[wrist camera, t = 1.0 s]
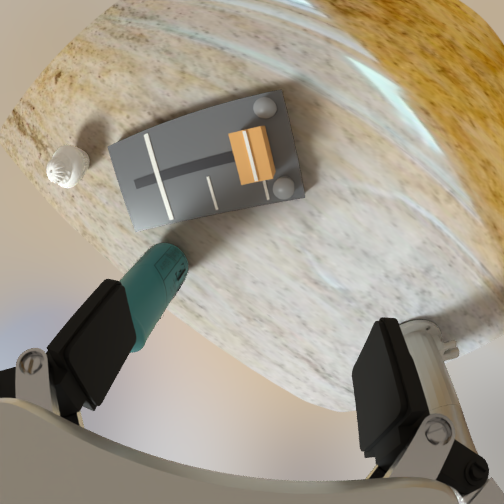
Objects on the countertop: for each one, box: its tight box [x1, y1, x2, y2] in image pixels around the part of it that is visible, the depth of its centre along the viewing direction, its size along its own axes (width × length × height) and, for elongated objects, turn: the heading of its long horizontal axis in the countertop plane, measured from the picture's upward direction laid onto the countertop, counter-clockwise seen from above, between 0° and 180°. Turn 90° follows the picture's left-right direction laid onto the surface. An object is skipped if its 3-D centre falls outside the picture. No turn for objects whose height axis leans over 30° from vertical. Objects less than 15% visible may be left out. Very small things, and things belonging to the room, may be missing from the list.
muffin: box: [46, 145, 90, 188], centre depth 30 cm, size 6×6×7 cm
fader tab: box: [228, 126, 276, 185], centre depth 26 cm, size 3×5×4 cm, turn 14°
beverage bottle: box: [120, 243, 188, 353], centre depth 29 cm, size 6×7×20 cm
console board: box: [108, 90, 305, 232], centre depth 30 cm, size 22×12×4 cm, turn 104°
